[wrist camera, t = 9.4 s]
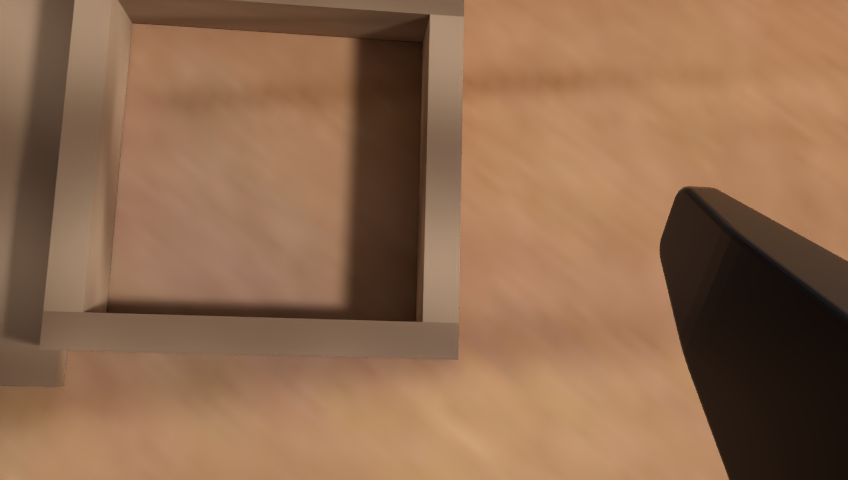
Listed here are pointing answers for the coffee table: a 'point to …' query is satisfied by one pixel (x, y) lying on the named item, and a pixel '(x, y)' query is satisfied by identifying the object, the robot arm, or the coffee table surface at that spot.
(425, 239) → the wooden double frame
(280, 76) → the coffee table surface
